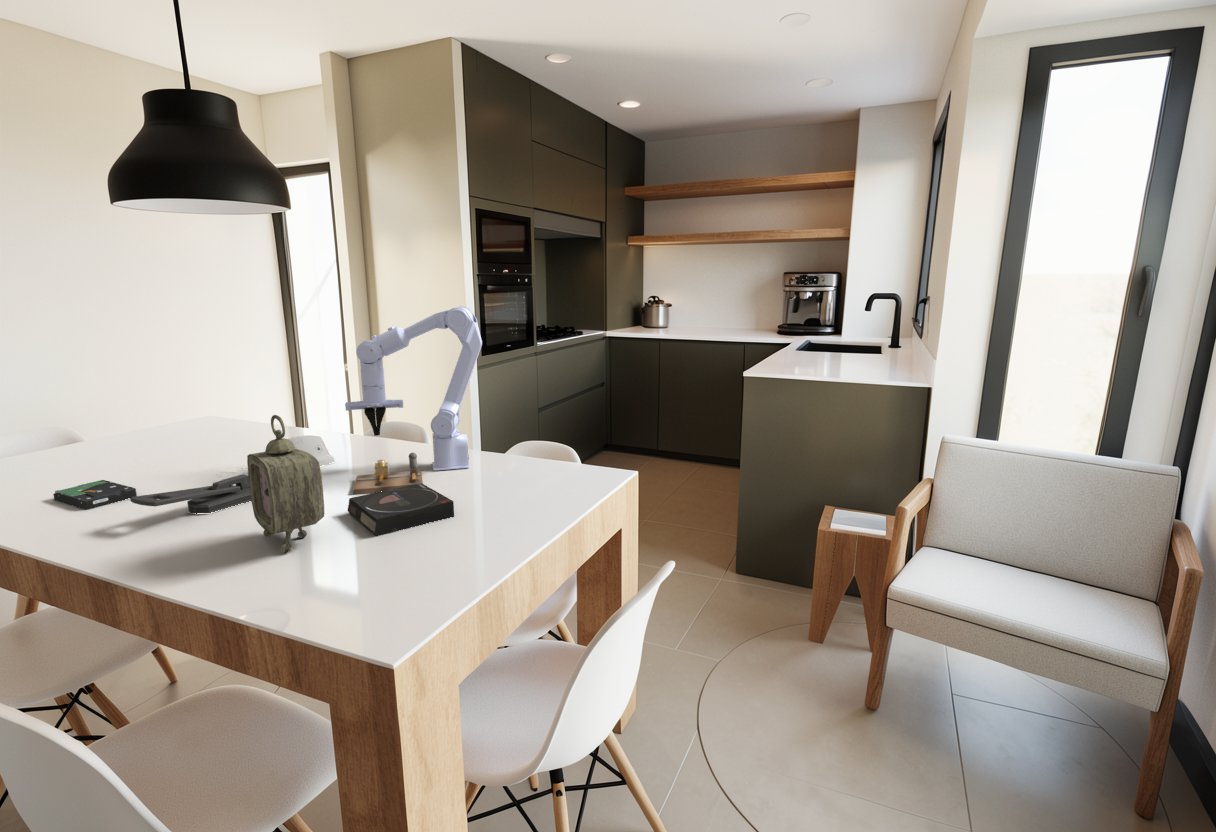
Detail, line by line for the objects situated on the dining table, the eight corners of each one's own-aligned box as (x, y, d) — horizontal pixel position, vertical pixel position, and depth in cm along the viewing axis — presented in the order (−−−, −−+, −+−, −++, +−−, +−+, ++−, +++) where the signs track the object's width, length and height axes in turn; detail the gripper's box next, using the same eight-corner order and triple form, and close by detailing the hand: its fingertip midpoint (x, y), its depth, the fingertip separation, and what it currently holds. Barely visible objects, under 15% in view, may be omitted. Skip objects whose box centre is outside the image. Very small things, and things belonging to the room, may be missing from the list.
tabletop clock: (255, 536, 121) (240, 413, 116) (303, 524, 127) (291, 406, 122) (279, 558, 111) (263, 424, 106) (330, 544, 117) (318, 417, 112)
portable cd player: (348, 516, 134) (346, 498, 133) (422, 499, 144) (421, 483, 144) (374, 539, 121) (373, 519, 120) (454, 518, 132) (453, 501, 131)
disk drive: (138, 499, 145) (104, 489, 151) (137, 487, 144) (102, 478, 151) (87, 513, 136) (52, 502, 142) (85, 501, 135) (50, 490, 142)
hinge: (284, 478, 159) (271, 441, 159) (273, 481, 161) (260, 446, 161) (336, 462, 174) (324, 428, 173) (325, 465, 176) (314, 432, 176)
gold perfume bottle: (388, 473, 157) (387, 458, 156) (387, 481, 150) (386, 466, 150) (376, 474, 156) (375, 459, 155) (374, 483, 149) (373, 467, 149)
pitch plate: (422, 474, 162) (420, 448, 161) (422, 488, 151) (421, 460, 150) (357, 480, 157) (355, 453, 156) (353, 494, 146) (350, 465, 145)
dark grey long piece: (124, 497, 124) (237, 465, 147) (129, 528, 126) (240, 491, 149) (153, 503, 121) (264, 469, 144) (158, 534, 123) (267, 496, 145)
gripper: (342, 388, 158) (346, 439, 160) (401, 386, 162) (405, 436, 165) (345, 384, 164) (349, 434, 167) (401, 382, 169) (405, 430, 171)
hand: (377, 434), depth 166 cm, fingers closed
